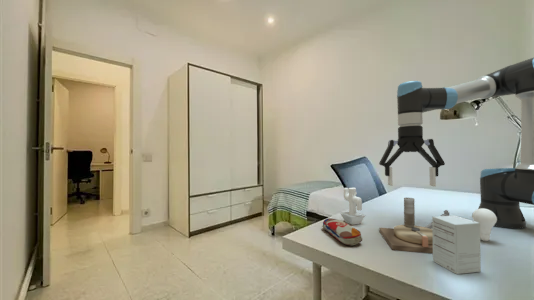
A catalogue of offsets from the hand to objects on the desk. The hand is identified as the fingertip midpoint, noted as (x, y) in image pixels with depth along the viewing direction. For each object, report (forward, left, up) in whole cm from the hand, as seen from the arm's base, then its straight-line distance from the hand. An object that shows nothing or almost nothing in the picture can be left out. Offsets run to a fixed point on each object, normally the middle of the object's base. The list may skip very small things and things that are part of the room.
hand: (411, 185), depth 84 cm
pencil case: (+25, +4, -19) cm, 31 cm away
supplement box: (-4, +21, -19) cm, 28 cm away
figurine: (+18, -13, -19) cm, 29 cm away
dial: (0, +5, -17) cm, 17 cm away
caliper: (-13, -12, -19) cm, 26 cm away
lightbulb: (-23, -1, -19) cm, 29 cm away
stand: (0, +5, -18) cm, 19 cm away
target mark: (0, +12, -17) cm, 21 cm away
